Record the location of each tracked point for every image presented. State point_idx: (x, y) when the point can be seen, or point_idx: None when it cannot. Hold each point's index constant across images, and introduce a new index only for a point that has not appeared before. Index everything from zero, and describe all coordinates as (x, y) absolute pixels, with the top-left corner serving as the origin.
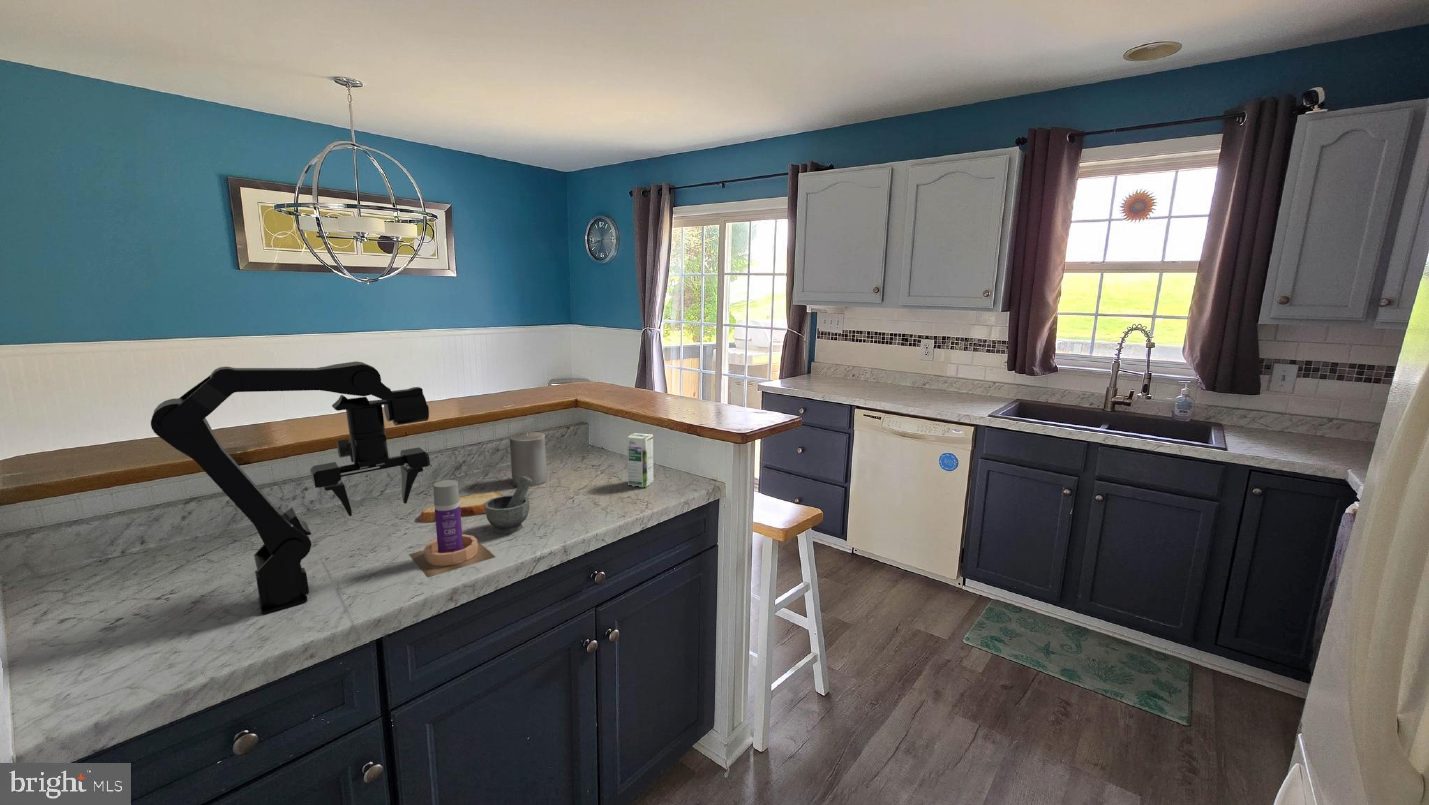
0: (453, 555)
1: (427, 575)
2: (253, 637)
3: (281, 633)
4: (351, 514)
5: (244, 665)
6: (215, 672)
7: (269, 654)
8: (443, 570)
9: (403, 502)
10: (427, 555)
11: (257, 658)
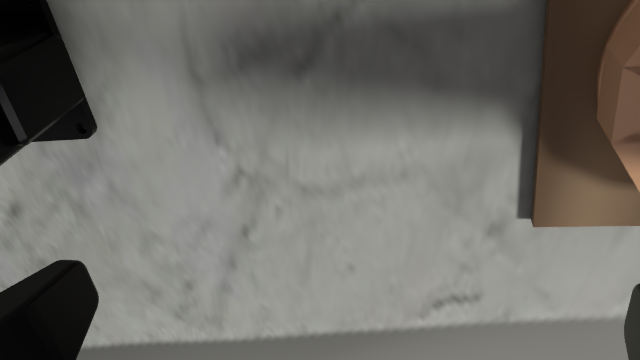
0: None
1: (538, 212)
2: (17, 250)
3: None
4: (90, 317)
5: None
6: None
7: (89, 341)
8: (617, 208)
9: (633, 297)
10: (608, 116)
11: None
